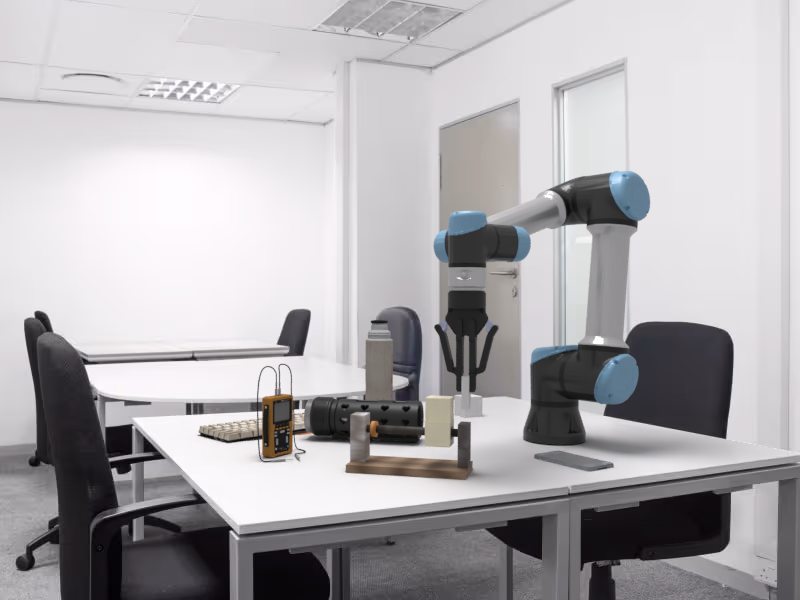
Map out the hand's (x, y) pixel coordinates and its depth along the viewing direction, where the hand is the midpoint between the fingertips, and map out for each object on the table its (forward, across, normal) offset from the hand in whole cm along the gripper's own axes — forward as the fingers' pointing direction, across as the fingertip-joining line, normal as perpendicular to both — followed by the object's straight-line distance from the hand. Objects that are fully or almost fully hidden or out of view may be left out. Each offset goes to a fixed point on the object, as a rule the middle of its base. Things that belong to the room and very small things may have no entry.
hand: (465, 408), depth 155 cm
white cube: (+13, -10, +74) cm, 76 cm away
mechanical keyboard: (+14, -54, +36) cm, 67 cm away
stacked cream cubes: (+8, -5, 0) cm, 9 cm away
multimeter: (+13, -39, +6) cm, 42 cm away
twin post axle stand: (+13, -11, 0) cm, 17 cm away
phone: (+14, +21, +16) cm, 30 cm away
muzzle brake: (+13, -29, +29) cm, 43 cm away
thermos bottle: (+13, -35, +66) cm, 76 cm away
